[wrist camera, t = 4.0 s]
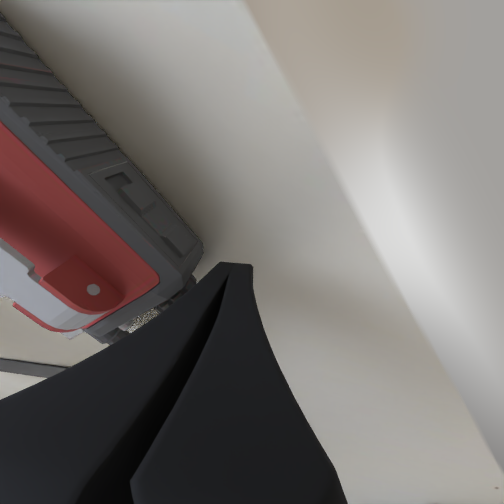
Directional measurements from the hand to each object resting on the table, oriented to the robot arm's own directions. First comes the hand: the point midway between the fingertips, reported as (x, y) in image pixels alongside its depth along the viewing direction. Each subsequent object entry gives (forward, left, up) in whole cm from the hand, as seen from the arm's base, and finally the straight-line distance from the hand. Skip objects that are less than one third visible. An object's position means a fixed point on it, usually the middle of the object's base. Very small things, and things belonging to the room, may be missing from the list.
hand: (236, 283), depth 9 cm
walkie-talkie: (0, +6, -2) cm, 7 cm away
